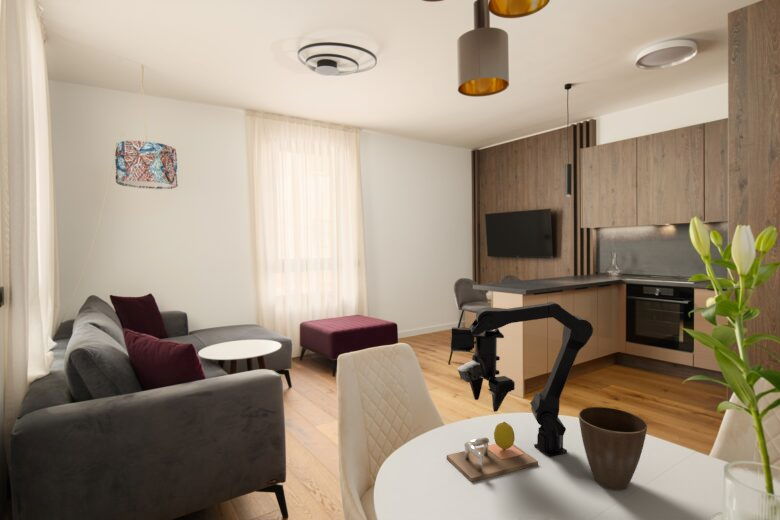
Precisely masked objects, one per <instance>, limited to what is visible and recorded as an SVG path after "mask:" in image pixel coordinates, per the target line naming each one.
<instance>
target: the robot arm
mask: <svg viewBox="0 0 780 520" xmlns="http://www.w3.org/2000/svg"><path fill="white" fill-rule="evenodd" d="M549 318H551V319H552V318H553V319H555V320H556V321H557V322H559V323H560V324H562V325H563V330H562V341H561V342H562V343H561V346H560V349H559V351H558V354H557V357H556V358H555V362H554V364H553V367H552V369H551V371H550V374H549V377H548V379H547V382H546V383H545V386H544V388H543V390H542V391H540V393H539V392H538V391H535V392H534V395H533V399H532V400H531V401H530V402H529V404H530V406H531V408H530V411H531V413H532V414H533V416H534V418H535V420H536V422H537V423H538V425H539V426H540V427H538V433H537V437H536V438H537V443H535V444H533V446H534V447H535V448H536V449H537V450H539V451H541V452H542V453H544V454H545V455H547V456H548V457H554V456H557V455H558V456H559V455H562V454H566V453H568V450H567V449H566V448H564V435H565V433H566V430H567V427H565V425H564V424H563V422H562V420H561V419H560V418H559V412H560V401H561V400H560V399H561V395H562V393H563V390H564V387H565V386H566V383H567V381H568V378H569V375H570V373H571V372H572V371H571V370H572V369H573V366H574V363H575V361H576V358H577V356H578V353H579V351H580V350H582V349H583V348H584V347H585V346H586V345H587V343H588V342H589V341H590V338H591V337H593V333H594V328H593V325H592V324H591V322H590V321H588V320H586V319H585V318H583V317H581V316H579V315H573V314H572V313H571V312H568V311H567V310H566V309H564V308H563V307H562V306H561V305H560V304H558V303H557V302H555V301H548V302H545V303H540V304H539V303H538V304H530V305H526V306H525V305H523V306H518V307H512V308H511V307H510V308H504V307H503V308H502V307H485V306H484V307H482V308H480V309H479V310H478V311H477V312H476V315H475V319H474V320H473V321H472V323H471V324H470V326H469V327H468V328H466V327H464V328H462V327H461V328H460V327H453V326H452V327H451V334H450V335H451V336H450V352H465V353H470V352H471V351H473V349H475V347H476V349H475V350H476V351H475V354H473V355H472V358H471V360H470V361H468V362H466V363H464V362H463V363H462V365H460V366H459V367H457V372H458V374H459V377H460V379H461V380H464V381H465V382H466V383H469V386H470V388H471V391H472V395H473V399H474V400H475V401H478V400H479V398H480V395H481V391H482V386H483V382H484V380H486V381H487V382H488V389H487V390H488V391H489V393H491V399H492V410H493V412H494V413H495V412H498V411H499V409H500V407H501V405H502V404H503V401H504V400H505V398H506V396H507V395H508V394H509V393H510V392H512V391H515V390H516V389H515V387H516V384H515V381H514V380H513V379H512V378H510V377H508V376H505V375H501V376H499V375H500V370H498V369H497V362H499V361H500V359H501V357H500V356H499V355H498V354H497V352H498V351H497V342H498V341H497V340H498V339H505V338H504V337H505V335H504V334H503V333H502V332H501V331H500V328H503V327H505V326H508V325H510V324H515V323H521V322H528V321H536V320H543V319H549ZM475 338H476V340H475ZM475 341H476V342H475ZM475 343H476V346H475ZM497 375H498V376H497Z"/></svg>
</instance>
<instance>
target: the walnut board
mask: <svg viewBox="0 0 780 520" xmlns="http://www.w3.org/2000/svg"><path fill="white" fill-rule="evenodd" d="M512 446H513V447H515V448H516V449H518V450H519V451H521V452H522V453H523V454H524V455H520V456H516V457H512V458H507V459H503V460H500V459H499V458H498V457H497V456H495V455H494V454H493V453H491V452H490V451H489V450H488V456H483V471H482V472H479V471H478V457H477V456H475V455H474V454H473V453H472V452H471V451H470V456H469V460H465V450H463V451H458V452H454V453H449V454H446V460H447V461H449V463H451V464H452V465H453V466H454V468H456V469H457V470H458V471H459V472H460V473H461V474H462V475H463V476H464V477H465V478H466V479H467V480H468V481H469V482H471V483H473V482H477V481H480V480H485V479H488V478H493V477H496V476H499V475H504V474H507V473H508V474H509V473H511V472H515V471H519V470H522V469H527V468H531V467H535V466H538V465H539V460H538V459H536V458H534V457H533V456H531V455H530V454H529V453H527V452H525V451H524V450H523V449H522V448H520V447H518V446H517V445H515V444H514V443H513V445H512ZM476 448H477V449H478V450H479V451H481V452H482V453H483V455H484V446H481V447H476Z"/></svg>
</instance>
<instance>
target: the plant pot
mask: <svg viewBox="0 0 780 520" xmlns="http://www.w3.org/2000/svg"><path fill="white" fill-rule="evenodd" d="M578 421H579V427H580V433H581V434H580V435H581V439H582V443H583V447H584V452H585V455H586V460H587V462H588V465H589V468H590V471H591V473H592V476H593V479H594V481H595V482H596V483H597V484H598V485H600V486H601V487H604V488H606V489H609V490H612V491H622V490H626V489H627V488H628V487H629V484H630V482H631V480H632V479H633V476H634V474H635V471H636V470H637V467H638V465H639V463H640V459H641V454H642V452H643V449H644V444H645V440H646V436H647V431H648V430H647V429H648V423H647V422H646V421H645V420H644V419H643V418H642V417H640V416H638V415H636V414H634V413H631V412H628V411H626V410H621V409H617V408H613V407H607V406H606V407H604V406H591V407H586V408H582V409H581V410H580V411H579V412H578Z"/></svg>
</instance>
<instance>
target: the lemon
mask: <svg viewBox="0 0 780 520" xmlns="http://www.w3.org/2000/svg"><path fill="white" fill-rule="evenodd" d="M514 431H515V430H514V429H513V427H512V426H511V425H510V424H509V423H507V422H506V421H503V422H500V423H498V424H497V425H496V426H495V428H494V431H493V439H494V443H495V444H497V445H498V446H499V447H500V448H502V449H503V450H506V449H508V448H510V447H511V446H512V445H513V444H514V442H515V432H514Z"/></svg>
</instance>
